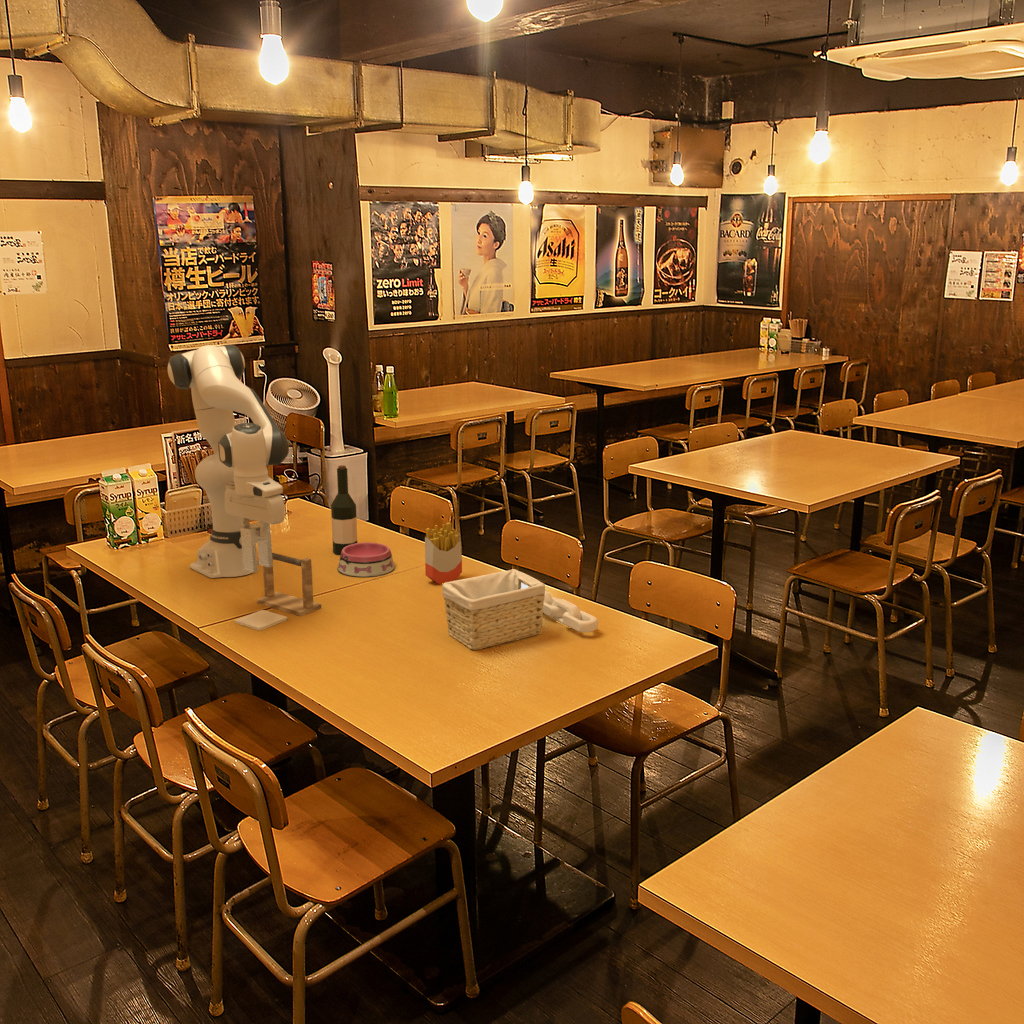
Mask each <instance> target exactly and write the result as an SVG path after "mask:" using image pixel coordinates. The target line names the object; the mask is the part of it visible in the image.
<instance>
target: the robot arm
mask: <svg viewBox="0 0 1024 1024" xmlns="http://www.w3.org/2000/svg"><path fill="white" fill-rule="evenodd" d="M245 367H246V363H245V358H244V354H243V353H242V352H241V350H240V348H239V347H238V346H236V345H233V344H224V345H223V346H222V345H219V346H218V345H217V346H216V345H212V344H207V345H203V346H200V347H198V348H197V349H193V350H190V351H186V352H183V353H181V352H179V353H176V354H174V355H173V356H171V357H170V358H169V359H168V364H167V375H168V378H169V380H170V382H172V384H173V385H174V387H175V388H177V389H179V390H189V389H190V390H191V399H192V406H193V410H194V414H195V418H196V424H197V427H198V431H199V435H200V436H201V437H202V438H203V439H204V440H206V441H207V442H208V444H209V446H210V447H211V450H212V451H213V454H210V455H208V456H206V457H205V458H203V459H202V460H201V461H200V462H199V463H198V464H197V465H196V467H195V470H194V477H195V480H196V483H197V484H198V486H200V487H201V488H202V489H203V490H204V491H205V492H206V496H207V498H208V501H209V504H210V505H209V506H210V509H211V519H212V528H209V529H208V532H207V534H210V536H209V539H208V540H207V541H206V542H205V543H204V544H203V545H201V546H200V547H199V548H198V549H197V553H196V561H194V562H191V563H190V564H189V569H192V570H193V571H195V572H197V573H200V574H201V575H204V576H205V577H208V578H209V579H214V578H233V577H241V576H246V575H249V574H253V572H249V571H245V570H244V567H243V555H242V543H241V531H240V527H244V526H247V525H251V523H250V521H256V522H260V525H261V528H260V530H258V536H259V537H266V536H267V528H268V526H269V524H270V525H277V524H281V523H283V522H284V520H285V518H286V509H285V503H284V498H283V495H281V494H283V492H284V490H283V489H284V487H283V485H281V484H280V483H278V482H277V481H275V480H274V479H272V478H271V477H270V476H269V471H268V468H267V466H280V465H281V463H283V461H285V459H286V458H287V457H288V455H289V452H290V446H289V442H288V438H287V436H286V435H285V433H284V432H283V431H282V430H281V429H280V427H278V425H277V424H276V422H275V420H274V419H273V418H272V416H271V414H270V412H269V411H268V410H267V407H266V406H265V405H264V403H263V401H262V400H261V398H260V397H259V395H258V393H256V391H255V390H254V389H253V388H251V387H249V386H247V385H245V384H244V383H243V382H242V381H241V380H239V379H240V378H242V376H243V375H244V372H245ZM234 412H236V413H240V414H243V415H246V416H247V417H249V418H250V420H251V421H252V422H240V423H238V424H237V422H236V419H235V415H234ZM258 565H259V559H257V566H258Z"/></svg>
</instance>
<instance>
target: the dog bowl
mask: <svg viewBox="0 0 1024 1024" xmlns="http://www.w3.org/2000/svg"><path fill="white" fill-rule="evenodd" d="M337 565H338V566H337V569H336V570H337V572H338V573H339V574H340V575H342V576H345V577H349V578H350V577H351V578H358V579H360V578H361V579H362V578H363V579H365V578H376V577H382V576H385V575H388V574H391V573H393V572H394V571H395V570H396V565H395V562H394V558H393V554H392V551H391V549H390V547H389V546H387V545H386V544H383V543H377V542H370V541H369V542H357V543H355V544H351V545H348V546H346V547H344V548H343V549H342V552H341V555H339V561H338V564H337Z"/></svg>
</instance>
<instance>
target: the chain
mask: <svg viewBox="0 0 1024 1024" xmlns="http://www.w3.org/2000/svg"><path fill="white" fill-rule="evenodd" d="M527 588H529V586H527ZM544 595H545V599H544V605H543V613H544V614H543V615H546V616H549V617H551V618H552V619H553V620H554V621H555V620H556V621H558V622H560V623H562V624H564V625H566V626H568V627H571V628H572V629H573V630H574V631H577V632H579V633H590V632H593V631H595V630H597V629H598V627H599V626H598V625H599V621H598V620H599V619H598V618H597V617H596V616H594V615H592V614H590V613H588V612H585V611H584V610H580V608H579V607H578V606H577V604H574V603H572V602H570V601H568V600H567V599H563V598H557V597H555V596H552V595H551V593H550V592H549V591H547V590H546V589H545V594H544ZM556 621H555V622H556ZM558 622H557V623H558ZM571 628H570V629H571Z"/></svg>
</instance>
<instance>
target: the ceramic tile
mask: <svg viewBox="0 0 1024 1024" xmlns="http://www.w3.org/2000/svg"><path fill="white" fill-rule="evenodd" d="M288 619H289V618H288V616H285V615H283V614H278V613H275V612H271V611H268V610H265V609H262V610H258V611H254V612H253V613H250V614H247V615H244V616H243V617H240V618H239V617H238V618H237V619H234V623H235V624H237V625H240V626H242V627H246V628H249V629H253V630H255V631H258V632H260V631H263V630H266V629H268V628H270V627H274V626H275V625H277V624H280V623H281V624H282V623H284V622H286V621H289V620H288Z"/></svg>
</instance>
